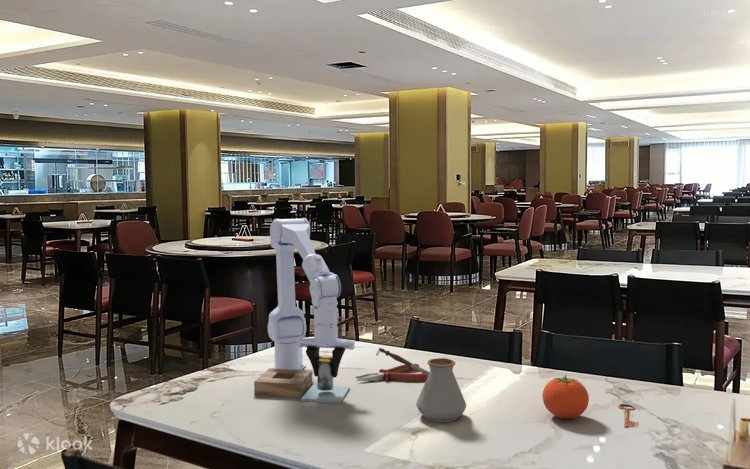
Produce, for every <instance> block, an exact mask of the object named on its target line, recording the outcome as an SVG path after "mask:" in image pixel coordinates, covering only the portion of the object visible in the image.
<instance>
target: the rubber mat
mask: <svg viewBox="0 0 750 469" xmlns="http://www.w3.org/2000/svg"><path fill="white" fill-rule="evenodd" d="M309 387H310V388H308V389H307V390H306V391H305V392H304V395H302V396H301V397H300V398H301V399H300V401H301V402H312V403H313V402H315V403H334V404H341V403H342V401H343V400H344V399H345V397H346V396H347V395H348V393H349V391H350V389H351V387H350V386H339V385H338V386H337V385H333V389H332V390H328V391H323V390H318V389H317V384H311V385H310V386H309Z"/></svg>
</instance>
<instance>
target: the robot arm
mask: <svg viewBox="0 0 750 469" xmlns="http://www.w3.org/2000/svg"><path fill="white" fill-rule="evenodd" d="M269 235H270V236H269V238H270V239H269V240H270V241H269V242H270V247H271V248H273V249H275V256H276V257H275V258H276V282H277V283H276V284H277V302H278V303H277V306H276V307H275V308H274V309H273V310H272V311H270V313H269V315H268V323H267V333H268V334H267V335H268V337H269V338H270V339H271V341H273V342H274V368H273V369H294V370H304V368H305V367H307V366H306V364H305V363H304V362H303V348H306V350H305V354H306V356H307V358H308V359H309V361H310V364H311V367H312V372H313V374H314V377H317V378H318V361H317V357H318V356H320V350H321V349H322V348H323V349H332V351H331V354H332V355H331V356H333V378H337V377H338V375H339V374H338V373H339V367H340V364H341V361H342V358H343V355H344V354H345V352H346V350H349V351H350V350H354V349H355V345H356V343H355V340H354V339H343V338H338V309H337V308H338V307H337V306H338V304H337V303H338V302H337V299H338V298H339V297H340V296H341V292H342V283H341V280H340V278H339V276H338V274H335V273H334V272H330V269H329V267H328V265H327V264H326V262H325V260H324V258H323V257H322V255H320V254H319V253H317V254H316V250H315V249H314V246H313V244H312V240H311V239H310V238H311V225H310V222H309V221H308V219H307V218H305V217H302V218H283V219H282V218H274V219H273V220H272V222H271V224H270V227H269ZM295 250H297V252H298V254H299V255H300V257H301V258H302V263H301V267H302V269H303V271H304V273H305V275H306V277H307V279H308V281H309V283H310V285H309V294H310V296H311V304H312V306H313V315H314V316H313V319H314V320H313V325H314V326H313V327H314V328H313V329H314V333H313V334H314V335H313V336H314V337H307V338H306V337H305V335H306V332H307V323H306V320H305V319H306V318H305V314H304V312H303V310H302V309H300V308H299V307H297V306H296V286H295V285H296V283H295V282H296V280H295V260H294V259H295V258H294V252H295ZM304 337H305V338H304Z"/></svg>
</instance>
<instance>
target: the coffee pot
mask: <svg viewBox="0 0 750 469" xmlns="http://www.w3.org/2000/svg"><path fill="white" fill-rule="evenodd" d="M380 353H382V354H385V356H387V357H388V356H389V357H390V358H391V359H393V360H394V361H397V362H398V363H401V364H402V365H408V366H410V367H412V368H414V369H416V370H418V371H417V372H420V373H424V374H425V375H427V376H428V377H427V379H426V381H424V384H423V386H422V389H421V391H420V393H419V396H418V398H417V400H416V403H415V405H416V408H417V410H418V411H419V414H421V415H422V416H424V418H425V419H426V420H428V421H432V422H437V423H450V422H454V421H456V420H457V419H459V418H458V417H461V415H462V414H464V412H465V410H466V408H467V403H466V400H465V397H464V396H463V393H462V391H461V388H460V386H459V383H458V381H457V379H456V376H455V374H454V371H453V369H454V366H456V361H455V360H454V359H451V358H446V357H441V358H431V359H429V360H427V365H428V366H429V371H428V370H426V369H424V368H422V367H420V366H419V367H418V366H416V365H414V364H415V363H412V362H411V361H409V360H407V359H406V358H403V357H402V356H400V355H399V354H396V353H392V352H390V350H386V349H384V348H382V347H379V348H378V349H377V352H376V354H375V355H376V356H379V354H380Z"/></svg>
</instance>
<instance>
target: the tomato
mask: <svg viewBox="0 0 750 469" xmlns="http://www.w3.org/2000/svg"><path fill="white" fill-rule="evenodd" d="M541 396H542V397H541V398H542V402H543V405H544V407H545V409H547V411H549V413H550V414H552V415H553V416H555V417H558V418H560V419H564V420H566V419H568V420H570V419H574V418H577V417H579V416H581V415H582V414H583V413H584V412H586V410H587V408H588V407H589V401H590V398H589V392H588V390H587V389H586V387H585V386H584V385H583V384H582V382H580V381H578V379H575V378H570V377H567V374H565V376H562V377H555V378H552V379H551V380H550V381H549V382H547V383H546V385H545V386H544V387H543V390H542V394H541Z"/></svg>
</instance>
